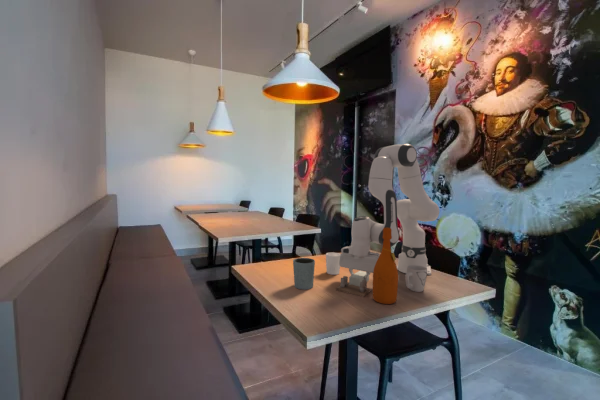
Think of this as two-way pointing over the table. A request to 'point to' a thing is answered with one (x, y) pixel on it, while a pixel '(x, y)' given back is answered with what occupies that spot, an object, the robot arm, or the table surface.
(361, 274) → the white rectangular block
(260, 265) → the table surface
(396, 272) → the wine bottle
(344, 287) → the peg stand
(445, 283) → the table surface
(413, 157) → the robot arm
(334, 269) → the white cup
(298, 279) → the dark grey cup
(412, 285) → the mug
